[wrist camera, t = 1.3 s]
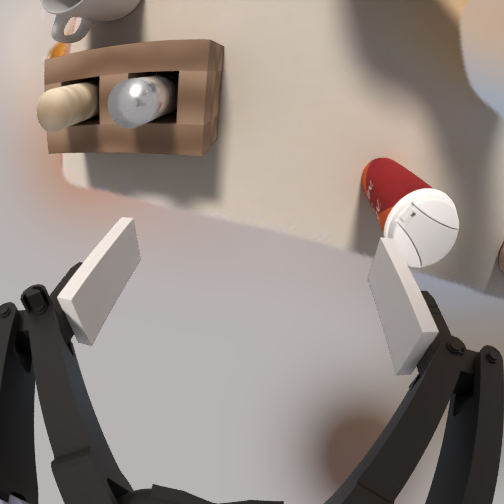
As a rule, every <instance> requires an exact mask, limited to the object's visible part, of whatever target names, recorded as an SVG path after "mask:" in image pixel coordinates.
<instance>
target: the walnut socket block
mask: <svg viewBox="0 0 504 504" xmlns="http://www.w3.org/2000/svg"><path fill="white" fill-rule="evenodd" d="M223 53H224V46H222V45H220V44H218V43H216V42H214V41H212V40H167V41H152V42H141V43H131V44H123V45H116V46H109V47H103V48H97V49H91V50H86V51H81V52H76V53H71V54H67V55H63V56H59V57H55V58H51V59H47V60H45V92H46V91H47V90H50V89H54V88H58V87H63V86H68V85H73V84H78V83H83V82H89V81H96V77H97V76H100V82H99V107H100V115H98V116H95V117H92V118H89V119H87V120H84V121H81V122H79V123H76V124H74V125H71V126H69V127H66V128H64V129H61V130H59V131H57V132H48V131H47V141H48V150H49V154H51V153H85V152H121V153H156V154H176V155H192V156H203V154H204V153H205V152H206V151H207V150H208V149H209V147H210V146H211V145H212V144H213V143H214V142H215V141H216V139H217V126H218V112H219V99H220V86H221V75H222V64H223ZM157 71H179V83H178V102H177V112H170V113H168V114H165V115H163V116H161V117H159V118H156V119H154V120H152V121H150V122H147V123H145V124H143V125H141V126H139V127H136V128H124V127H121V126H119V125H118V124H116V123H115V122H114V121H113V119H112V118H111V116H110V114H109V111H108V99H109V95H110V93H111V91H112V89H113V88H114V87H115V86H116V85H117V84H118V83H119V82H121V81H123V80H126V79H132V78H140V77H150V76H156V72H157Z"/></svg>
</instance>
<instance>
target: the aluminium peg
mask: <svg viewBox="0 0 504 504" xmlns="http://www.w3.org/2000/svg"><path fill="white" fill-rule="evenodd" d="M177 102H178V82H177V81H176V80H175V79H174V78H172V77H170V76H165V75H162V76H150V77H140V78H132V79H126V80H123V81H121V82H119V83H118V84H117V85H116V86H115V87H114V88H113V89H112V91H111V93H110V95H109V99H108V111H109V114H110V116H111V118H112V119H113V121H114V122H115V123H116V124H118V125H119V126H121V127H124V128H136V127H139V126H141V125H143V124H145V123H147V122H150V121H152V120H154V119H156V118H159V117H161V116H163V115H165V114H168V113H170V112H172V111H173V110H175V109H176V108H177Z"/></svg>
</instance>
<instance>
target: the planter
mask: <svg viewBox="0 0 504 504" xmlns="http://www.w3.org/2000/svg"><path fill="white" fill-rule="evenodd" d="M499 267H500V269H501V271H502V272H503V273H504V244H503V246H502V249H501V251H500V255H499Z"/></svg>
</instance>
